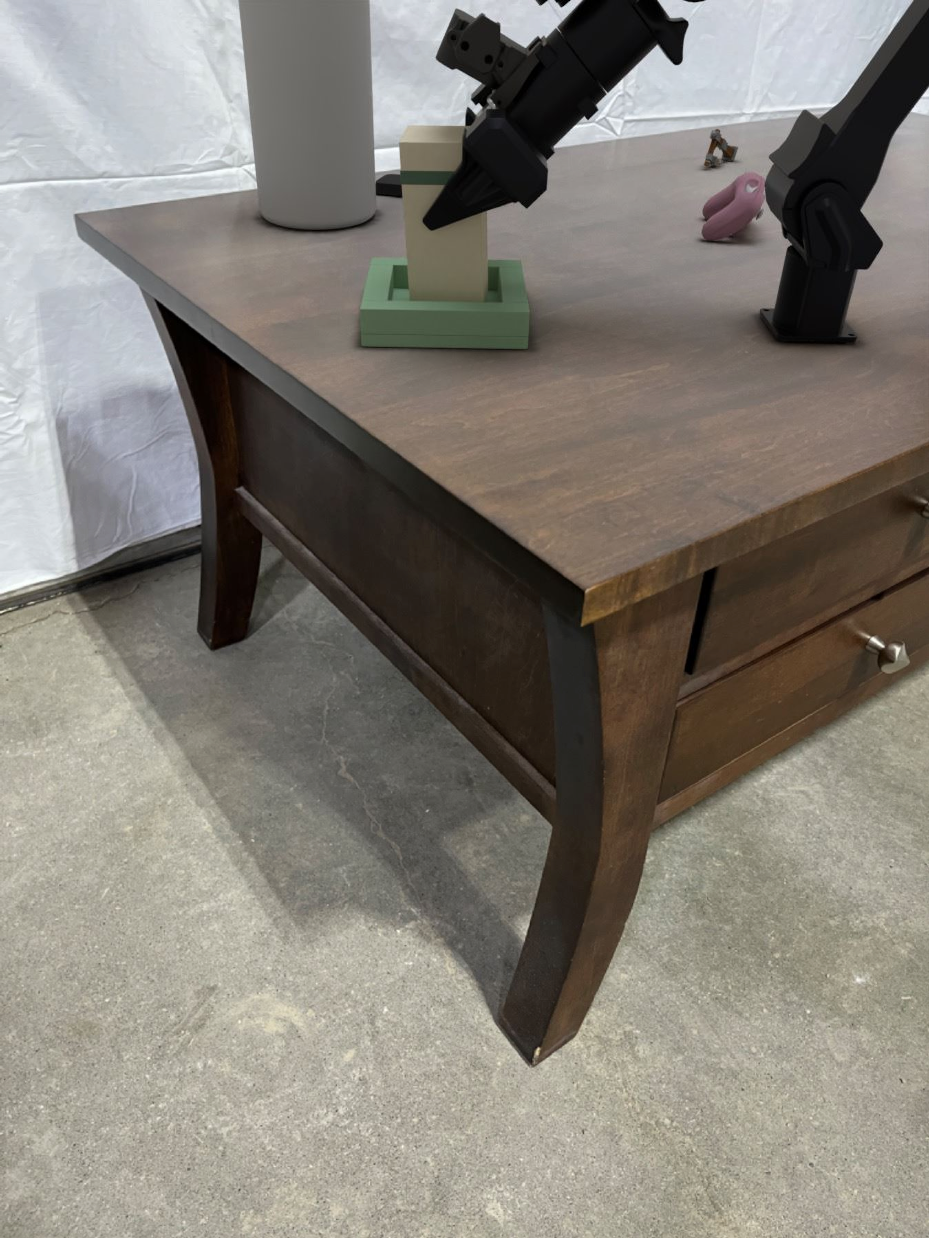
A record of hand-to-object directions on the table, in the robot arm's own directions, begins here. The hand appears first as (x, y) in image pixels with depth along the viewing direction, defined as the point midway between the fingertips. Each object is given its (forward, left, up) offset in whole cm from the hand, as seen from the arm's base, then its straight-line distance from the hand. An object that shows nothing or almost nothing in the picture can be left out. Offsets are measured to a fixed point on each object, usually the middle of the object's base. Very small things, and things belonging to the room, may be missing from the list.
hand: (428, 217), depth 77 cm
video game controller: (+28, -31, -8) cm, 43 cm away
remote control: (+41, 0, -8) cm, 42 cm away
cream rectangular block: (0, -2, -7) cm, 7 cm away
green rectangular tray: (0, -1, -8) cm, 8 cm away
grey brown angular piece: (+60, -37, -8) cm, 71 cm away
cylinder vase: (+31, +13, -8) cm, 34 cm away
